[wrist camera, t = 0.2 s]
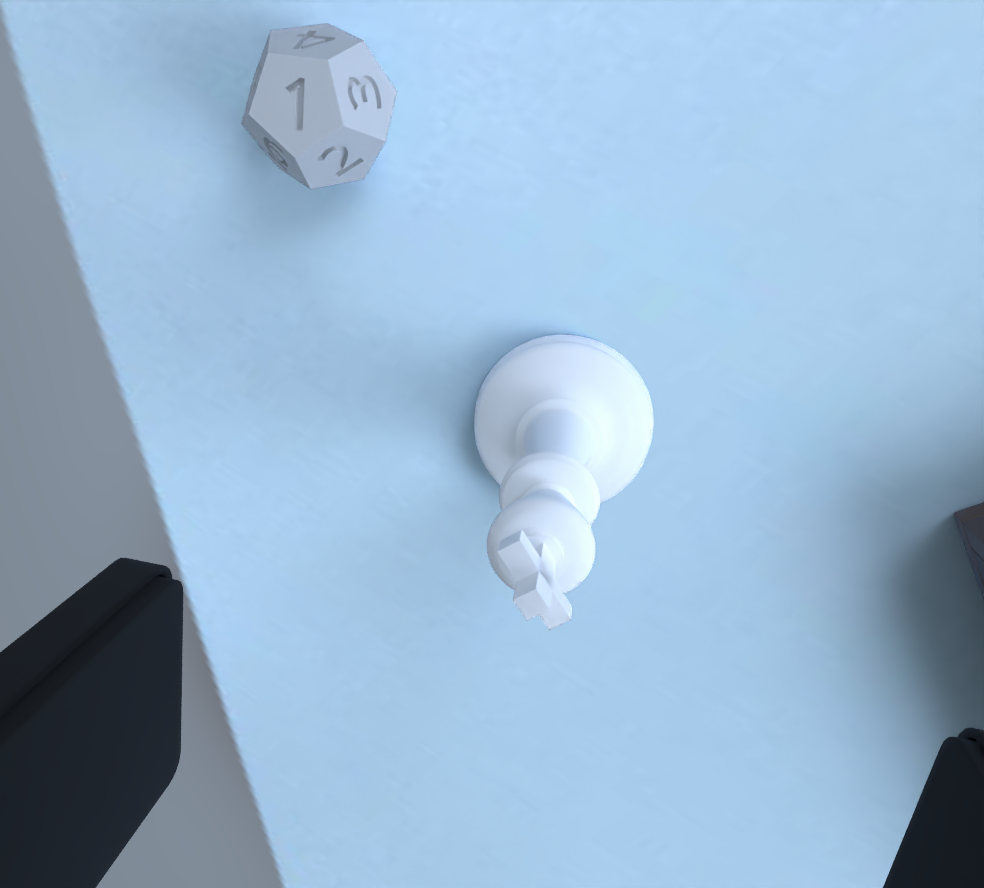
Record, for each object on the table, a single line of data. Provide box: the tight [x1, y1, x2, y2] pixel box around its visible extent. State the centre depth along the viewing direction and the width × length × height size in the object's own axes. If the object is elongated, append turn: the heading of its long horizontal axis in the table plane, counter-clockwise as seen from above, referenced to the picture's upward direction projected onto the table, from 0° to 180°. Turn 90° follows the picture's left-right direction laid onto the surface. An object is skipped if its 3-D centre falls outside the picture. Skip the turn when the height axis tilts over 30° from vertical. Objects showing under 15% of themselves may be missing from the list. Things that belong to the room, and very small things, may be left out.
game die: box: [241, 23, 397, 189], centre depth 19 cm, size 4×4×3 cm
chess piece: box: [474, 335, 654, 630], centre depth 18 cm, size 5×5×10 cm
